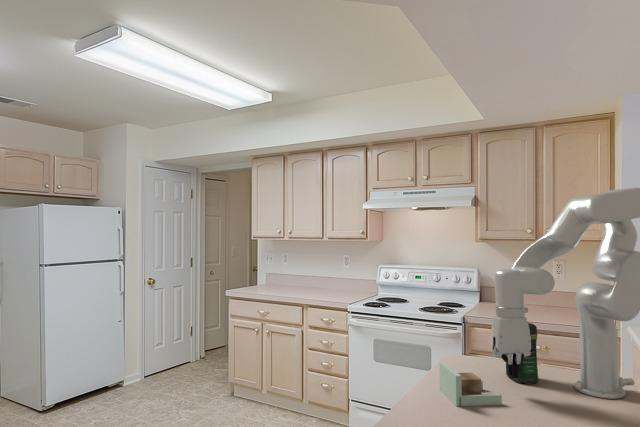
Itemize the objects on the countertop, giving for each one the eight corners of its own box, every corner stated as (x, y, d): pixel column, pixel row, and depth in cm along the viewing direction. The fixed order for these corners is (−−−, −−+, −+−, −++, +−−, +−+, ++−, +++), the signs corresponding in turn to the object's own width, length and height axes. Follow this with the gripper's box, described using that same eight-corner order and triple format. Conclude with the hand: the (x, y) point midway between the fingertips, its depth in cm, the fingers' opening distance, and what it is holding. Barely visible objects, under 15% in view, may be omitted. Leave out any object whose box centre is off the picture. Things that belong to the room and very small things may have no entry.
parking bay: (481, 388, 132) (481, 361, 132) (501, 404, 120) (501, 374, 120) (439, 390, 131) (439, 362, 131) (456, 406, 119) (456, 375, 119)
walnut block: (472, 393, 128) (471, 372, 129) (481, 401, 123) (481, 379, 123) (452, 394, 128) (451, 372, 128) (460, 402, 122) (460, 379, 122)
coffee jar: (542, 384, 136) (541, 323, 137) (518, 385, 135) (517, 323, 136) (525, 374, 146) (524, 317, 146) (502, 374, 145) (501, 317, 146)
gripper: (527, 309, 132) (530, 371, 131) (479, 311, 130) (481, 374, 130) (542, 313, 124) (545, 380, 124) (491, 316, 123) (494, 383, 122)
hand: (512, 377), depth 127 cm, fingers closed
